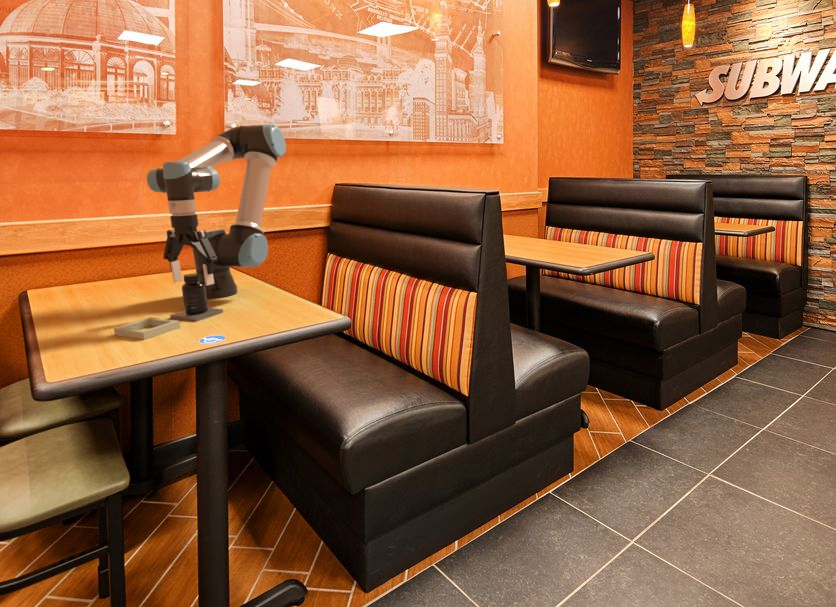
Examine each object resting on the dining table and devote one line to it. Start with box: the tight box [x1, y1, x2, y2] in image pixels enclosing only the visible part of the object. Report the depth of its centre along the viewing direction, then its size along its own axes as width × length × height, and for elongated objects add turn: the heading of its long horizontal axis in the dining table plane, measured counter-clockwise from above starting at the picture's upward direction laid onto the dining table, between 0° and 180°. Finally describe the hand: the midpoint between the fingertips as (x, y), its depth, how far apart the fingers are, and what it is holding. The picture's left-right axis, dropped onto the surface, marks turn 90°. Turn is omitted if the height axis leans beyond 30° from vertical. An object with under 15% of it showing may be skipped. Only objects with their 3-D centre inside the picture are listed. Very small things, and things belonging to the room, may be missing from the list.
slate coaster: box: [169, 307, 224, 322], centre depth 171 cm, size 11×11×1 cm
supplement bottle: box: [181, 272, 209, 315], centre depth 169 cm, size 7×7×12 cm
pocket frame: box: [113, 316, 181, 340], centre depth 155 cm, size 12×12×2 cm
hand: (193, 283), depth 169 cm, fingers open, 13 cm apart
